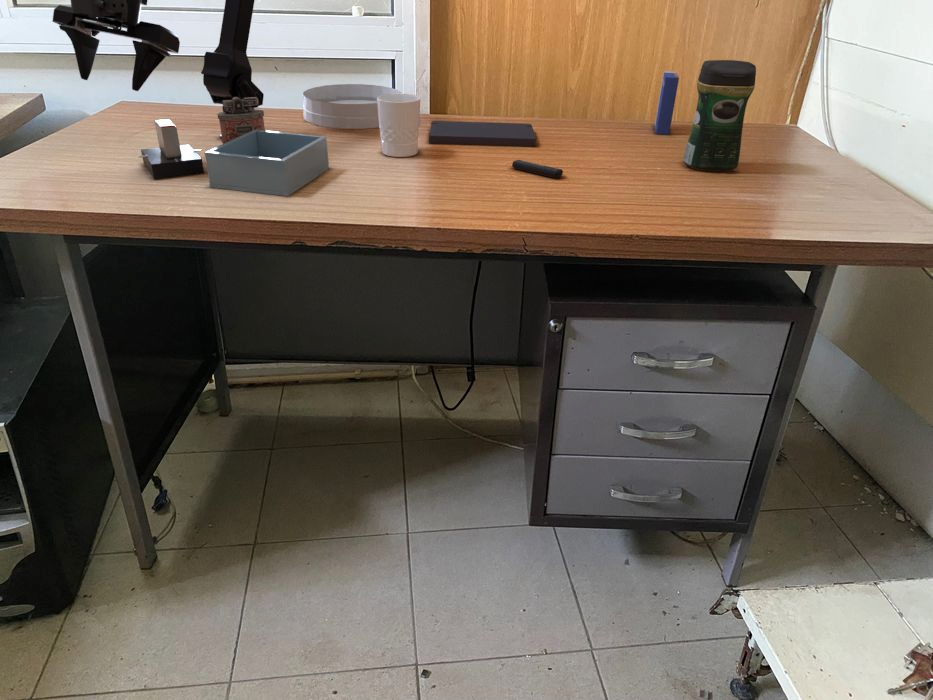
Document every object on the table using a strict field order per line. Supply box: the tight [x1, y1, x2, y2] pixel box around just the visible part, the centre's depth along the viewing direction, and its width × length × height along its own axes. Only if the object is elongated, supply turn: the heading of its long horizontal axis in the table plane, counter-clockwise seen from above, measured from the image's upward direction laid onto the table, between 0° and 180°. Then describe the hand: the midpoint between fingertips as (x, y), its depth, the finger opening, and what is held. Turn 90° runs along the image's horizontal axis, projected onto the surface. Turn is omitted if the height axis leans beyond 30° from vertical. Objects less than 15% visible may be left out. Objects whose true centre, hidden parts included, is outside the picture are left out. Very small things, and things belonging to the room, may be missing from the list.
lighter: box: [217, 97, 266, 144], centre depth 126 cm, size 8×3×10 cm, turn 118°
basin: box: [204, 129, 330, 197], centre depth 116 cm, size 16×14×6 cm
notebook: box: [428, 120, 537, 147], centre depth 144 cm, size 13×2×21 cm
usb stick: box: [511, 159, 564, 179], centre depth 124 cm, size 10×3×2 cm, turn 54°
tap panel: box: [138, 143, 205, 180], centre depth 119 cm, size 10×10×3 cm
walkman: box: [654, 70, 680, 136], centre depth 151 cm, size 8×3×12 cm, turn 169°
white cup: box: [377, 92, 421, 158], centre depth 130 cm, size 8×8×10 cm
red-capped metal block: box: [154, 118, 182, 159], centre depth 117 cm, size 6×2×5 cm, turn 31°
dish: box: [302, 83, 403, 130], centre depth 155 cm, size 22×22×5 cm
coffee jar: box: [683, 59, 757, 172], centre depth 126 cm, size 10×8×19 cm
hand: (109, 84), depth 112 cm, fingers open, 9 cm apart
